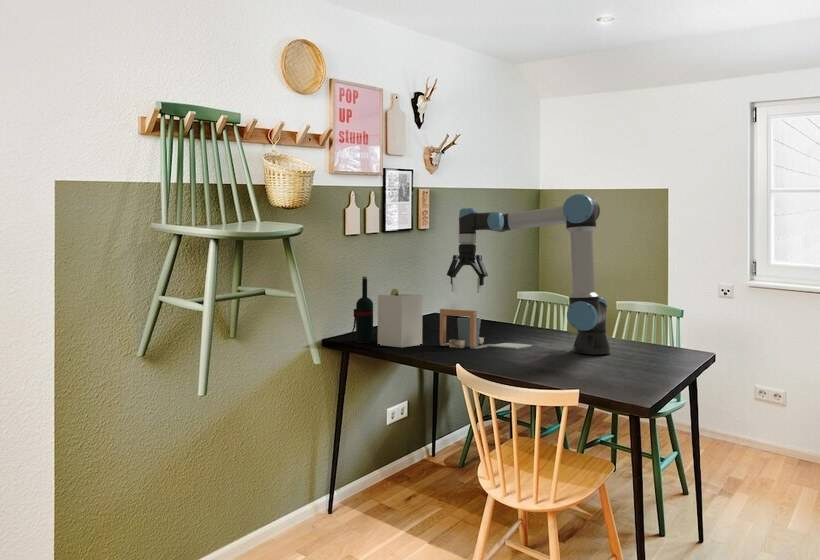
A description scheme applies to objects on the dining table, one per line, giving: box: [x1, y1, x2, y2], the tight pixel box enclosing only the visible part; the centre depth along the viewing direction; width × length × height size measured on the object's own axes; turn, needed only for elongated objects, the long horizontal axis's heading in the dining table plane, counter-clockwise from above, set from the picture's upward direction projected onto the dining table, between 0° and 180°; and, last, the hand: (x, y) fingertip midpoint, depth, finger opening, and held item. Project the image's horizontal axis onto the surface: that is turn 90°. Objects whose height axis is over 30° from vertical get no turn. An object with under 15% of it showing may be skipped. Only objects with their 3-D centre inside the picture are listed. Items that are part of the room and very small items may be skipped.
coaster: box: [490, 342, 533, 350], centre depth 280 cm, size 13×13×1 cm
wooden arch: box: [439, 308, 478, 348], centre depth 277 cm, size 18×2×15 cm, turn 50°
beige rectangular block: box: [448, 336, 485, 349], centre depth 282 cm, size 6×18×3 cm, turn 140°
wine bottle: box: [351, 276, 374, 343], centre depth 291 cm, size 8×10×30 cm
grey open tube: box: [456, 317, 482, 348], centre depth 282 cm, size 10×10×12 cm
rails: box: [439, 342, 495, 350], centre depth 283 cm, size 18×15×1 cm
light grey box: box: [377, 293, 424, 348], centre depth 285 cm, size 14×14×22 cm
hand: (466, 292), depth 282 cm, fingers open, 13 cm apart
